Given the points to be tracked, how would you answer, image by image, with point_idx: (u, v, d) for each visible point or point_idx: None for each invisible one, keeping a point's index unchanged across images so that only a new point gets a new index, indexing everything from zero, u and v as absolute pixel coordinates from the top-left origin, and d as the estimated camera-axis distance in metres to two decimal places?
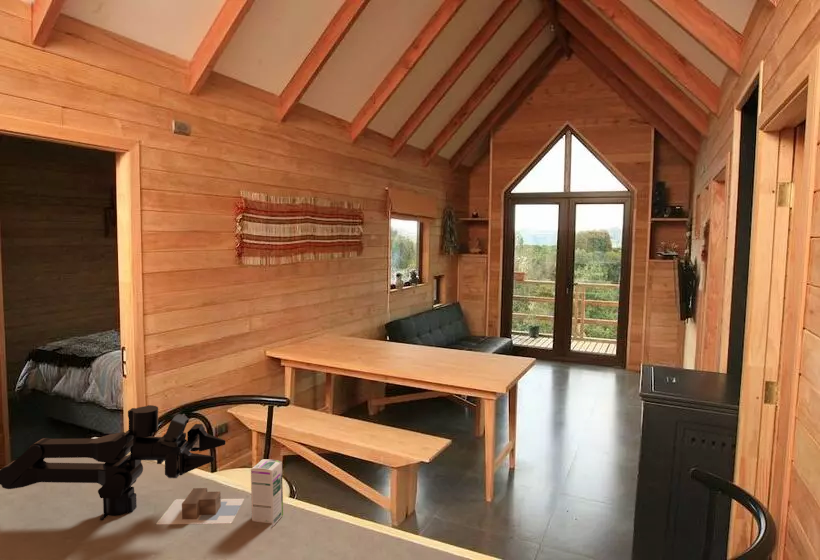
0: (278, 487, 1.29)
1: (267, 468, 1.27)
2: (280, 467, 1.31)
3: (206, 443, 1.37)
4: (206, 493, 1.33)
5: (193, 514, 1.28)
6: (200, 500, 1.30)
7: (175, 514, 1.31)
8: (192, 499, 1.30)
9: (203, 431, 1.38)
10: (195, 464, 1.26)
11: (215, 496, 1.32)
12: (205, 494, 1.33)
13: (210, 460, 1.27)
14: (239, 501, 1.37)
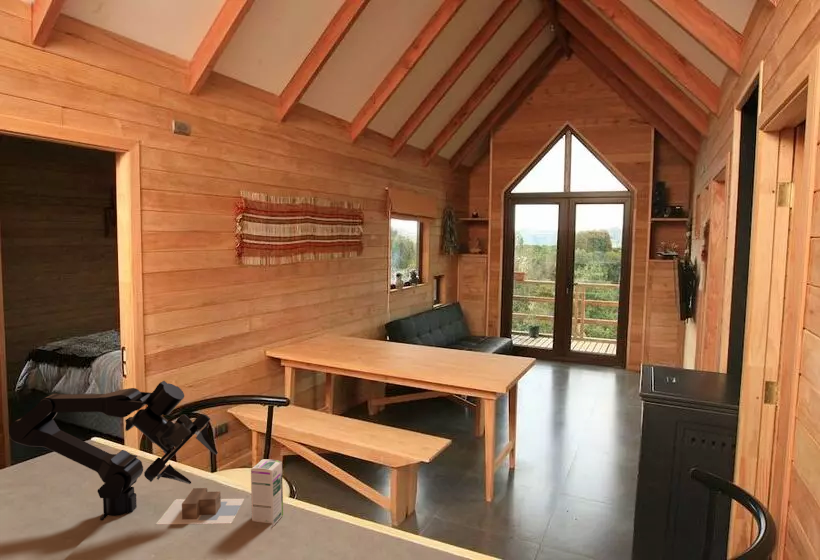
0: (278, 487, 1.29)
1: (267, 468, 1.27)
2: (280, 467, 1.31)
3: (202, 441, 1.35)
4: (206, 493, 1.33)
5: (193, 514, 1.28)
6: (200, 500, 1.30)
7: (175, 514, 1.31)
8: (192, 499, 1.30)
9: (204, 432, 1.34)
10: (173, 477, 1.28)
11: (215, 496, 1.32)
12: (205, 494, 1.33)
13: (187, 483, 1.28)
14: (239, 501, 1.37)
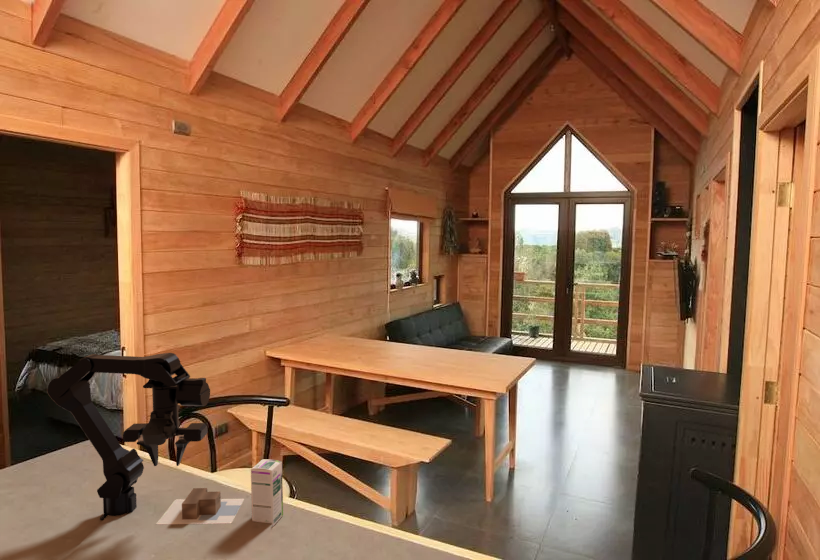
0: (278, 487, 1.29)
1: (267, 468, 1.27)
2: (280, 467, 1.31)
3: None
4: (206, 493, 1.33)
5: (193, 514, 1.28)
6: (200, 500, 1.30)
7: (175, 514, 1.31)
8: (192, 499, 1.30)
9: (179, 445, 1.28)
10: None
11: (215, 496, 1.32)
12: (205, 494, 1.33)
13: None
14: (239, 501, 1.37)
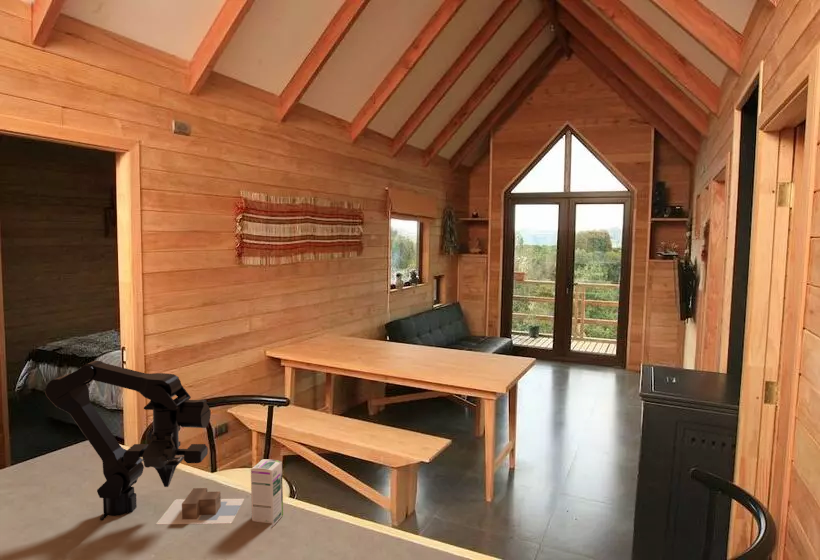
0: (278, 487, 1.29)
1: (267, 468, 1.27)
2: (280, 467, 1.31)
3: None
4: (206, 493, 1.33)
5: (193, 514, 1.28)
6: (200, 500, 1.30)
7: (175, 514, 1.31)
8: (192, 499, 1.30)
9: (168, 466, 1.29)
10: None
11: (215, 496, 1.32)
12: (205, 494, 1.33)
13: None
14: (239, 501, 1.37)
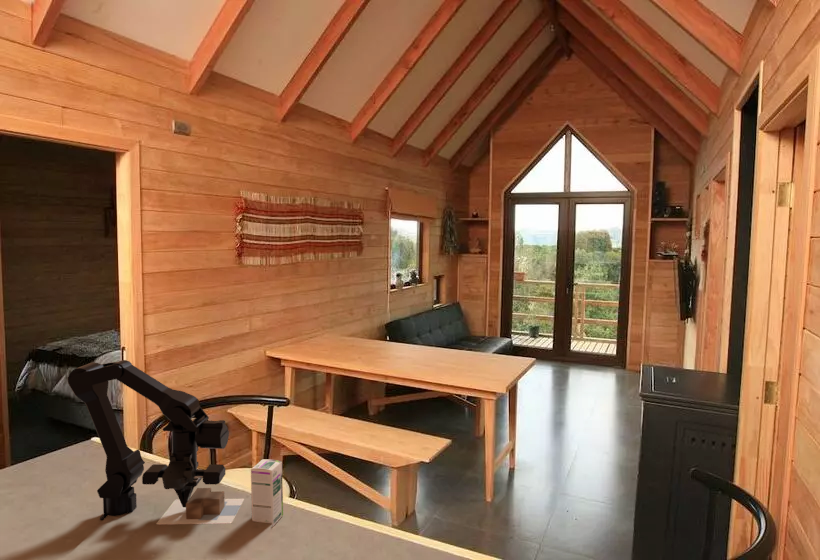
0: (278, 487, 1.29)
1: (267, 468, 1.27)
2: (280, 467, 1.31)
3: None
4: (210, 493, 1.33)
5: (197, 513, 1.28)
6: (204, 500, 1.30)
7: (175, 514, 1.31)
8: (196, 499, 1.30)
9: (187, 487, 1.29)
10: None
11: (219, 496, 1.32)
12: (209, 494, 1.33)
13: None
14: (239, 501, 1.37)
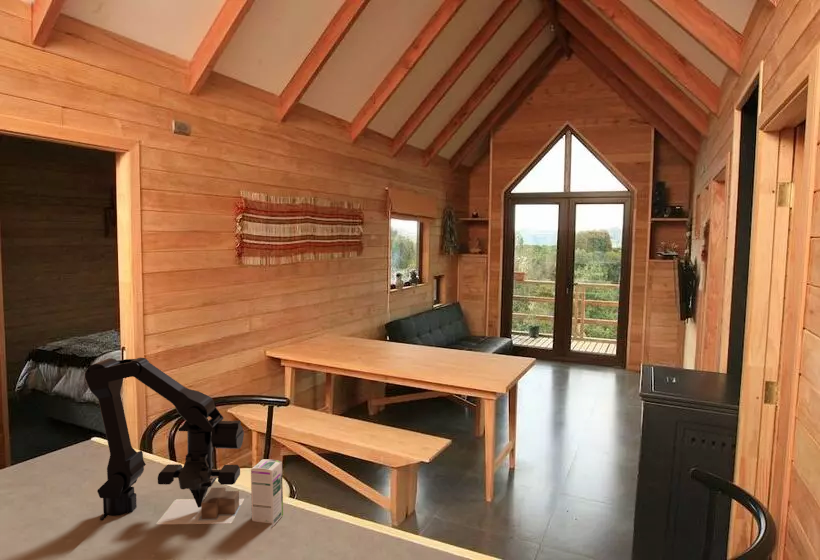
0: (278, 487, 1.29)
1: (267, 468, 1.27)
2: (280, 467, 1.31)
3: None
4: (225, 493, 1.34)
5: (212, 513, 1.29)
6: (219, 499, 1.31)
7: (175, 514, 1.31)
8: (211, 499, 1.30)
9: (202, 487, 1.30)
10: None
11: (234, 496, 1.32)
12: (224, 493, 1.33)
13: None
14: (239, 501, 1.37)
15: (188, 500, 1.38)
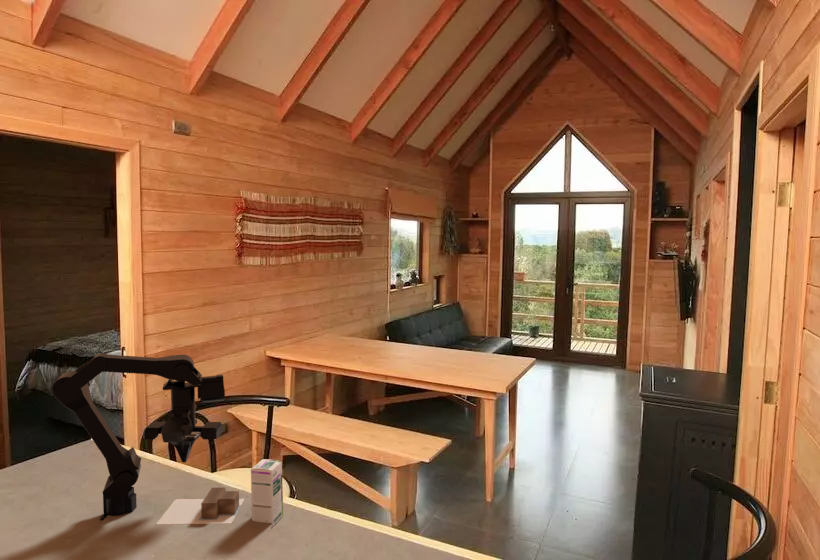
0: (278, 487, 1.29)
1: (267, 468, 1.27)
2: (280, 467, 1.31)
3: None
4: (225, 493, 1.34)
5: (212, 513, 1.29)
6: (219, 499, 1.31)
7: (175, 514, 1.31)
8: (211, 499, 1.30)
9: (186, 443, 1.35)
10: None
11: (234, 496, 1.32)
12: (224, 493, 1.33)
13: None
14: (239, 501, 1.37)
15: (188, 500, 1.38)
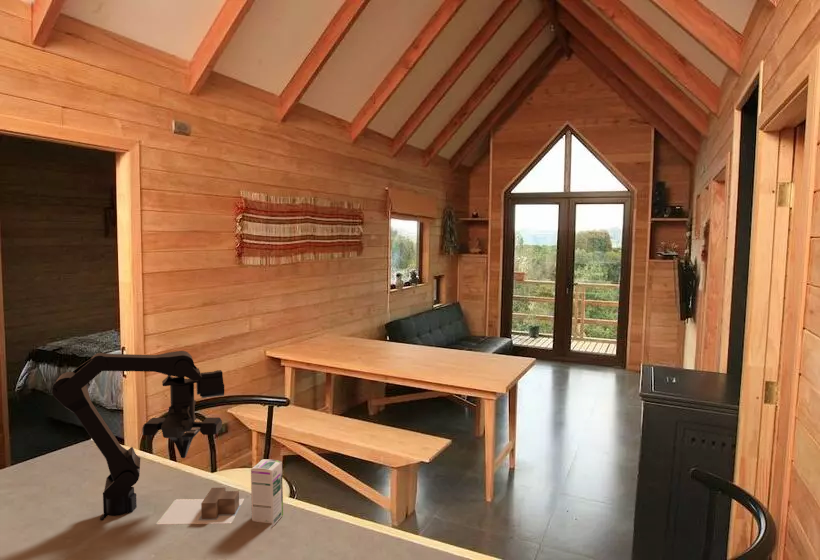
0: (278, 487, 1.29)
1: (267, 468, 1.27)
2: (280, 467, 1.31)
3: None
4: (225, 493, 1.34)
5: (212, 513, 1.29)
6: (219, 499, 1.31)
7: (175, 514, 1.31)
8: (211, 499, 1.30)
9: (185, 438, 1.35)
10: None
11: (234, 496, 1.32)
12: (224, 493, 1.33)
13: None
14: (239, 501, 1.37)
15: (188, 500, 1.38)
